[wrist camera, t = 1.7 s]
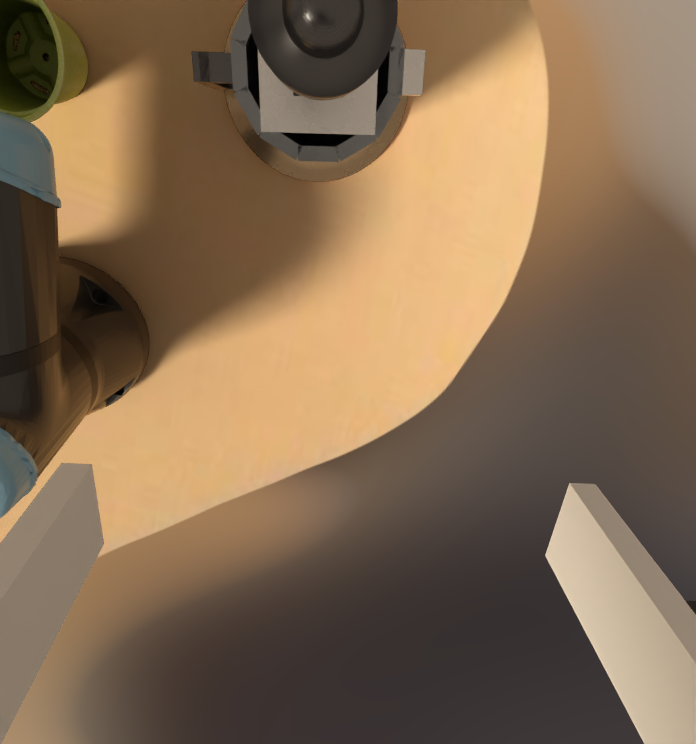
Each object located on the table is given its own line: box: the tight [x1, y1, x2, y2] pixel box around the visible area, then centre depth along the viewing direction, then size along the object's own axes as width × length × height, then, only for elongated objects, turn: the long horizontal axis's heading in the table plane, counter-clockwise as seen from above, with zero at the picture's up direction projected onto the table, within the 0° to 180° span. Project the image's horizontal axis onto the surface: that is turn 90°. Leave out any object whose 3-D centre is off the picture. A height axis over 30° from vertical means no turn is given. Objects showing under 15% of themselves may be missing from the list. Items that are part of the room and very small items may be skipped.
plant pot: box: [0, 0, 88, 122], centre depth 36 cm, size 9×9×9 cm
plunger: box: [248, 0, 397, 100], centre depth 24 cm, size 7×7×21 cm
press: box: [192, 0, 426, 182], centre depth 36 cm, size 15×15×13 cm
